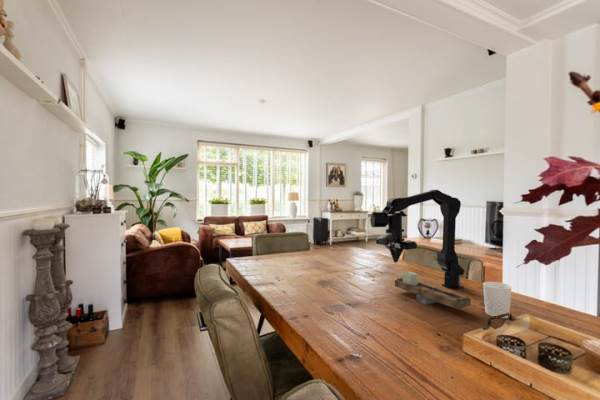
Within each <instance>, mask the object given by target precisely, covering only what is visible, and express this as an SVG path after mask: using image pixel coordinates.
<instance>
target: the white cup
mask: <svg viewBox="0 0 600 400" xmlns="http://www.w3.org/2000/svg"><path fill="white" fill-rule="evenodd" d="M482 287H483V288H482V289H483V302H484V309H485V310H484V312H485V314H487V315H488V316H490V317H493V318H495V317H494V316H498V315H501V314H506V313H509V314H510V311H511V310H510V309H511V303H512V301H511V300H512V286H511V285H508V284H507V283H503V282H499V281H484V282H482ZM508 318H509V317H507V316H505V317H502V318H501V319H508Z"/></svg>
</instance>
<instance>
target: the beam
mask: <svg viewBox="0 0 600 400" xmlns="http://www.w3.org/2000/svg"><path fill="white" fill-rule="evenodd" d="M394 286H395V287H396V288H398V289H401V290H405V291H407V292H409V293H412V294H415V295H416V297H415V298H416V300H415V302H416V303H419V304H422V305H423V306H427V305H432V304H434V303H440V304H441V305H444V306H445V305H446V306H448V307H450V308H452V309H456V310H459V309H463V308H467V307H471V304H472V303H471V302H472V301H471V297H468V296H465V295H462V294H458V293H455V292H452V291H448V290H445V289H443V288H439V287H437V286H434V285H430V284H427V283H424V282H421V281H418V285H416V286H413V285H411V284H408V283H405V282H403V277H400V278H399V277H398V278H396V279H395V280H394Z"/></svg>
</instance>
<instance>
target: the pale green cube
mask: <svg viewBox="0 0 600 400" xmlns="http://www.w3.org/2000/svg"><path fill="white" fill-rule="evenodd" d="M401 276H402V278H403V282H405V283H408V284H411V285H413V286H416V285H418V282H419V274H418V273H415V272H413V271H405V272H402V274H401Z"/></svg>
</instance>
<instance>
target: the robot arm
mask: <svg viewBox="0 0 600 400" xmlns="http://www.w3.org/2000/svg"><path fill="white" fill-rule="evenodd" d="M431 200H432V201H433V202H434V203H435V204H437V205H439V209H440V212H441V215H442V217H443V221H442V245H441V247H442V248H441V250H440V251H437V252H436V256H437V257H436V262H437V264H438V266H439V267H440V268H441V271H444V276H443V278H444V279H443V280H444V282H443V283H441V286H443V287H446V288H449V289H452V290H457V289H461V288H464V285H461V276H463V275H464V274H465V269H464V268H463V267H462V266H461V265H460V264H459V263H460V262H459V257H458V255H457V253H456V250H455V248H456V223H457V220H456V219H457V217H458V215H459V213H460V210H461V207H462V202H461V200H460V199H459V198H457V197H453V196H451V195H449V194H447V193H444V192H442V191H440V190H439V189H430V190H428V191H424V192H421V193H417V194H413V195H410V196H406V197H405V196H404V197H395V198H394V197H393V198H389V199H388V200H387V201H386V203H385V204H386V205H385V206H384V207H383V209H382V211H372V212H371V215H370V216H371V217H370V221H369V222H370V226H371V227H372V228H386V227H387V226H388V228H386V230H385V233H382V234H381V235H379V236H377V238H376V239H375V243H376V244H377V245H382V246H384V247H385V248H387V250H389V252H390V255H391V257H392V260H393V263H398V261H399V260H400V257H401V255H402V253H403V252H404V250H409V251H410V250H414V249H418V245H417V242H416V241H414V240H413V241H412V240H405V238H403V232H405V229H403V217H407V216H408V215H407V214H406V213H405V212H404V211H403V210H406V209H407V208H409V207H410V206H414V205H418V204H420V203H425V202H427V201H431Z"/></svg>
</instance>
